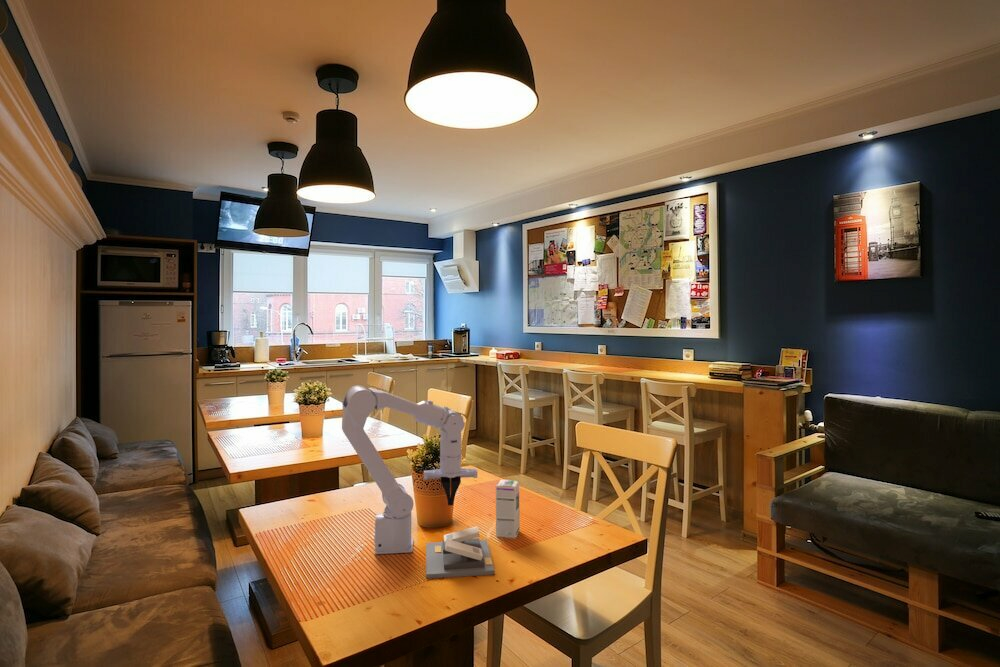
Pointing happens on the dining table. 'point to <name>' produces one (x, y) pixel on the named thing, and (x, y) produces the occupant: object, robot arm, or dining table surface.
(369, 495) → the dining table surface
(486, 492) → the dining table surface
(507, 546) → the dining table surface
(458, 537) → the back rocker
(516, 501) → the syrup box
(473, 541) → the switch board
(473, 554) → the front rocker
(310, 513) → the dining table surface
